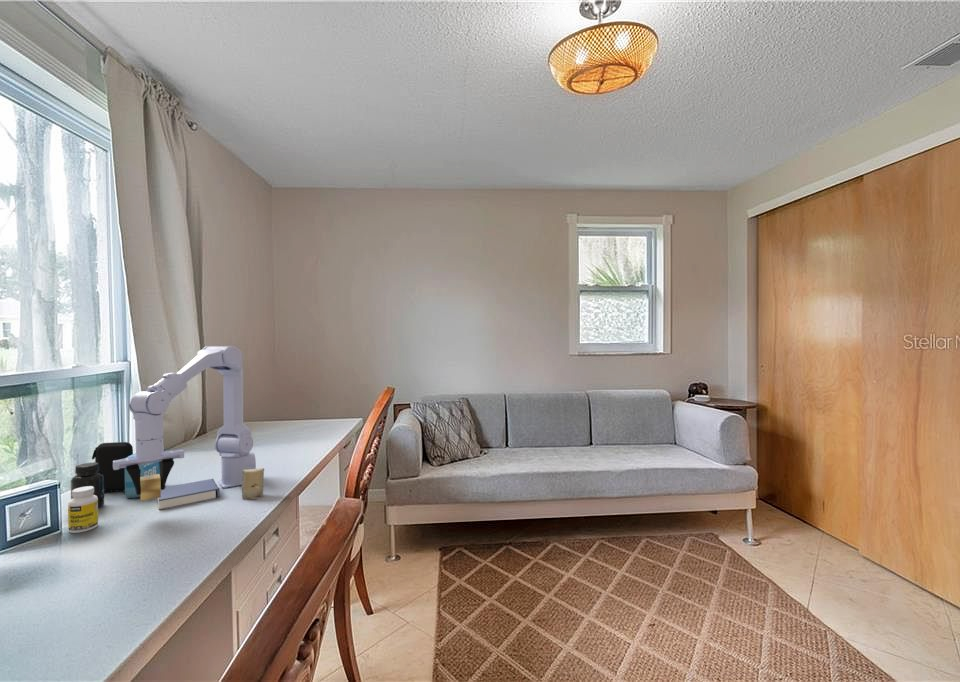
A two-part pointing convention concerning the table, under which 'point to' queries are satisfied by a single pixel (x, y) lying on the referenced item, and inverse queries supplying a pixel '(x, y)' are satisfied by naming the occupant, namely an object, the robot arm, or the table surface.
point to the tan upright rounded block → (252, 483)
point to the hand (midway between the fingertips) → (150, 491)
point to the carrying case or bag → (105, 458)
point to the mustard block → (150, 487)
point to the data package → (145, 471)
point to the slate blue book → (188, 493)
